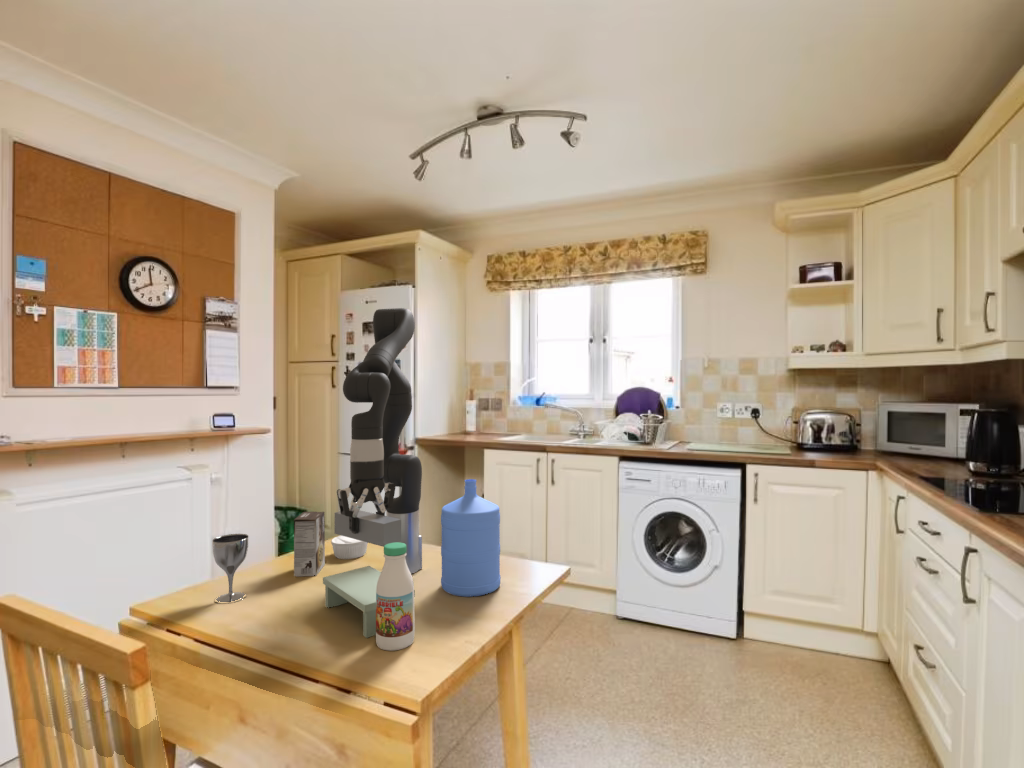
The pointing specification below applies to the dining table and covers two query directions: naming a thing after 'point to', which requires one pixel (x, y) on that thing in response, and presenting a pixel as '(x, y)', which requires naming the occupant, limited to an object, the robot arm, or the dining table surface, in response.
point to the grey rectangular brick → (370, 528)
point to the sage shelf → (355, 593)
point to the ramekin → (348, 547)
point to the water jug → (470, 545)
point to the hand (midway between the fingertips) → (367, 530)
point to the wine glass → (230, 559)
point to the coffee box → (309, 543)
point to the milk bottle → (395, 600)
